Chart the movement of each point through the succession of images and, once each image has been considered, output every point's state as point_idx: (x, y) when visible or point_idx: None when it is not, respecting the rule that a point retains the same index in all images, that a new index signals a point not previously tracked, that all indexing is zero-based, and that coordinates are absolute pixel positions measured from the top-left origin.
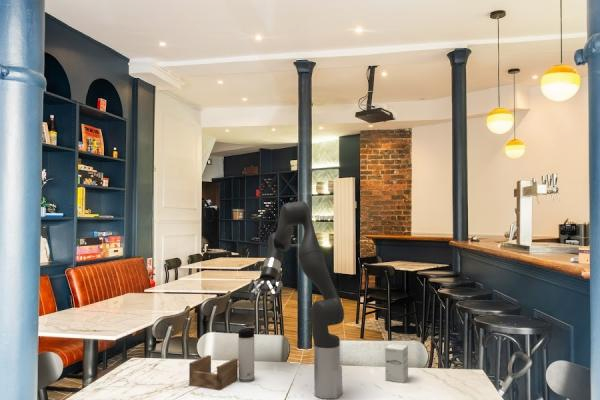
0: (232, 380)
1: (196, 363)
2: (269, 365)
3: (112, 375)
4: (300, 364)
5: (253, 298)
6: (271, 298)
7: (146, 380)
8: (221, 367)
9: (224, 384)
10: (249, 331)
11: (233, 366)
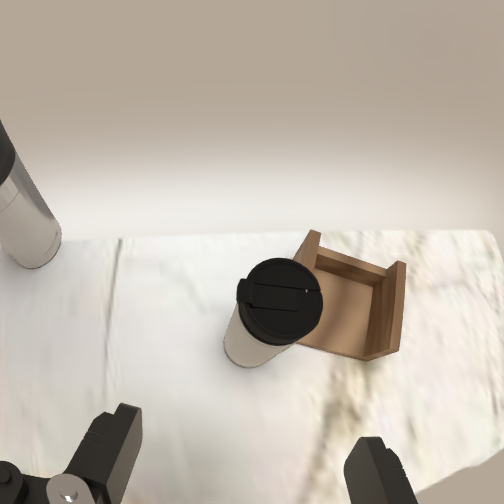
0: None
1: (394, 278)
2: (208, 489)
3: None
4: None
5: (359, 487)
6: (108, 429)
7: (464, 304)
8: (308, 236)
9: None
10: (258, 266)
11: None
